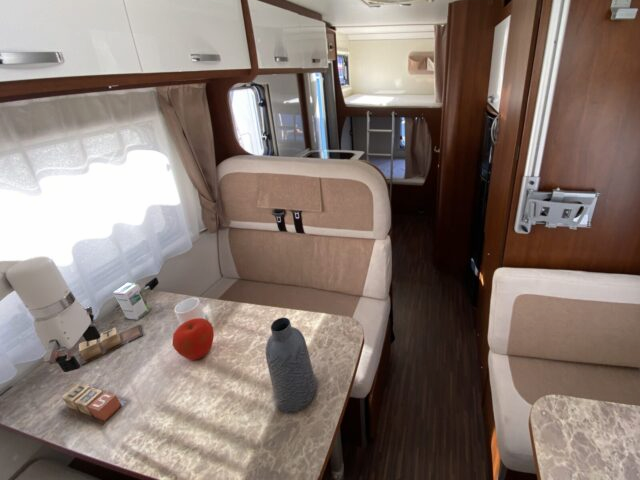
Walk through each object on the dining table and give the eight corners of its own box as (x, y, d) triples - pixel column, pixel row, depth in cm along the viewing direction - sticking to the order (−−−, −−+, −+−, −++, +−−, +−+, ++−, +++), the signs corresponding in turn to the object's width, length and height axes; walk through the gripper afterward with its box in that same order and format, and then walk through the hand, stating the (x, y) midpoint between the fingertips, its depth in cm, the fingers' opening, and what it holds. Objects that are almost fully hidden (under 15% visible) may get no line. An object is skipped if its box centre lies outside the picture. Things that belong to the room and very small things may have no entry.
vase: (324, 381, 96) (311, 313, 85) (302, 420, 85) (285, 349, 74) (292, 370, 100) (276, 304, 89) (267, 406, 89) (246, 336, 78)
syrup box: (138, 321, 123) (125, 293, 117) (126, 319, 124) (112, 291, 118) (150, 310, 128) (138, 283, 122) (139, 309, 129) (126, 282, 123)
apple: (172, 362, 104) (158, 332, 99) (202, 335, 114) (191, 307, 109) (198, 373, 100) (185, 343, 94) (226, 344, 110) (217, 315, 105)
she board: (129, 404, 92) (121, 391, 89) (104, 428, 85) (95, 416, 83) (90, 390, 96) (82, 378, 94) (63, 413, 90) (54, 400, 88)
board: (83, 366, 104) (76, 354, 102) (83, 354, 109) (76, 342, 107) (143, 337, 115) (137, 325, 113) (140, 327, 120) (135, 315, 117)
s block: (121, 405, 90) (115, 394, 88) (105, 420, 86) (98, 410, 84) (110, 401, 91) (104, 391, 90) (94, 416, 87) (87, 406, 86)
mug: (176, 321, 121) (168, 301, 117) (198, 309, 127) (191, 290, 123) (186, 337, 114) (178, 316, 110) (209, 324, 120) (202, 303, 116)
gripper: (57, 285, 80) (85, 332, 87) (4, 336, 65) (44, 388, 72) (91, 279, 82) (116, 325, 89) (47, 326, 67) (82, 378, 74)
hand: (83, 353), depth 80 cm, fingers open, 9 cm apart
